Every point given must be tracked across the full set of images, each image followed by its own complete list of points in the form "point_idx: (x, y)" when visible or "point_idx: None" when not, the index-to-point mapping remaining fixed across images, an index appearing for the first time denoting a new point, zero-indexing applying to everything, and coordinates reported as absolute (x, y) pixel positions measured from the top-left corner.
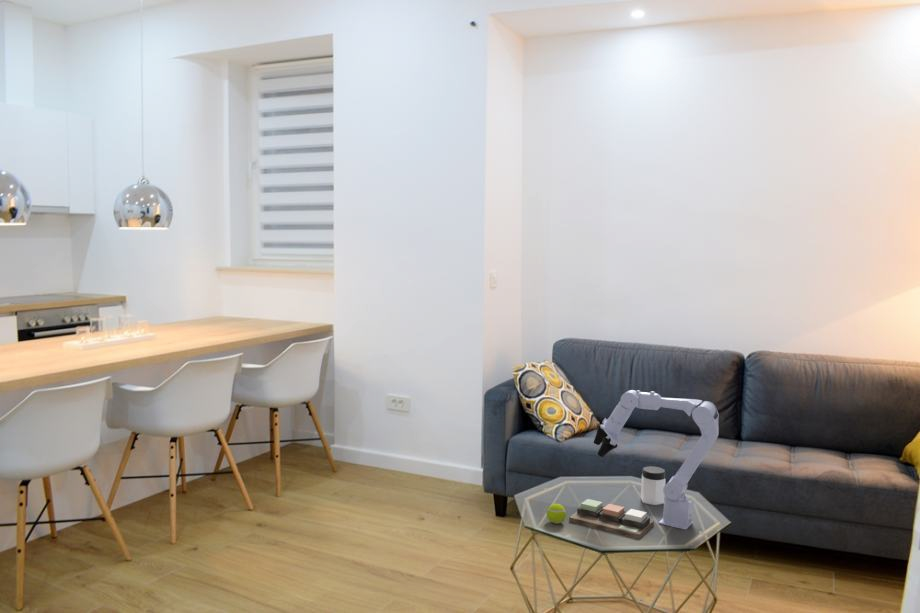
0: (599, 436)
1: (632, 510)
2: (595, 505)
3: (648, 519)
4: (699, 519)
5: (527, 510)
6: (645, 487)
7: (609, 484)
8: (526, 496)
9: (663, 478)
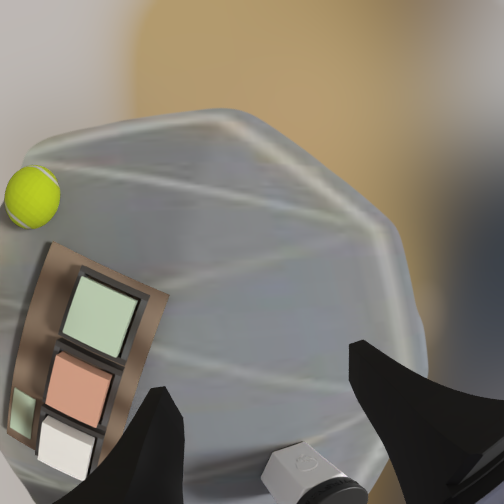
0: (392, 411)
1: (78, 447)
2: (75, 330)
3: None
4: None
5: (127, 122)
6: (288, 478)
7: (385, 346)
8: (236, 118)
9: None
